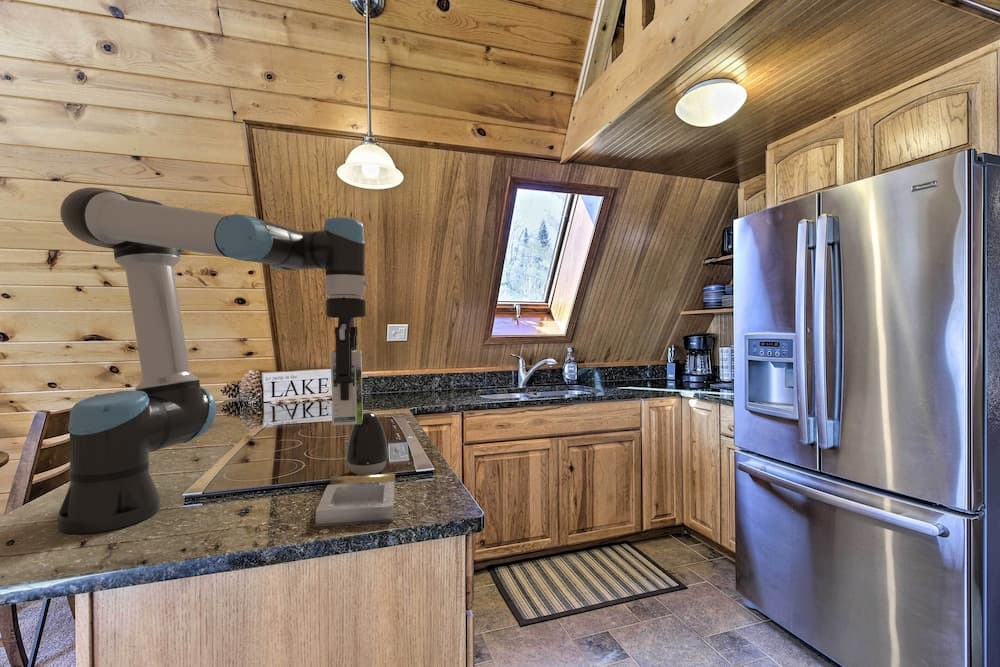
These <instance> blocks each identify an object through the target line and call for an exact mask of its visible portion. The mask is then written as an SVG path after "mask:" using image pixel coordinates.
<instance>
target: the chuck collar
mask: <svg viewBox="0 0 1000 667" xmlns="http://www.w3.org/2000/svg"><path fill="white" fill-rule="evenodd" d="M320 498H321V499H320V501H319V503H318V505H317V507H316V510H315V527H316V528H323V527H333V526H334V527H335V526H351V525H352V526H353V525H365V524H378V523H381V524H382V523H393V522H394V511H395V510H394V507H395V487H394V481H393V482H373V483H354V484H335V485H330V484H327V485H326V488H325V490H324V491H323V494H322V496H321V497H320Z"/></svg>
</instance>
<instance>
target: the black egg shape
mask: <svg viewBox="0 0 1000 667" xmlns="http://www.w3.org/2000/svg"><path fill="white" fill-rule="evenodd" d="M386 437H387V436H386V434H385V430H384V428H383V425H382V423H381V421H380V419H379V417H378V416H377V415H376V414H375V413H373V412H363V419H362V424H353V425H352V429H351V432H350V434H349V438H348V442H347V446H346V447H347V448H346V452H345V453H346V454H345V461H346V463H347V467H348V468H349V470H350V471H351V473H353V474H354V475H356V474H357V475H356V476H358V475H371V474H375V475H377V474H380V472H382V471H383V470H384V468H385V467H386V464H387V461H388V459H389V448H388V443H387V438H386ZM376 473H377V474H376Z"/></svg>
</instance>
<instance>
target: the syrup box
mask: <svg viewBox="0 0 1000 667" xmlns="http://www.w3.org/2000/svg"><path fill="white" fill-rule="evenodd" d="M362 355H363V354H362V350H361V349H356V350H352V373H351V379H352V381H351V383H353V417H338V384H334V383H333V380H336V379H335V378H336V350H331V353H330V374H331V375H330V377H331V378H330V379H331V425H332V427H336V426H351V425H352V426H354V424H362V419H363V414H364V412H363V410H364V407H363V366H362V365H363V364H362V362H363V361H362V359H363V358H362Z"/></svg>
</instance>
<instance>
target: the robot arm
mask: <svg viewBox="0 0 1000 667" xmlns="http://www.w3.org/2000/svg"><path fill="white" fill-rule="evenodd" d="M59 212H60V213H59V214H60V218H61V221H62V224H63V226H64V227H65V229H66V231H68V232H69V233H70V234H71V235H72V236H74V237H75V238H76V239H78V240H80V241H81V242H84V243H86V244H89V245H92V246H95V247H100V248H105V249H106V248H107V249H112V250H113V256H114V261H115V263H116V264H117V265H119V266H120V267H122V268H123V269H124V270H125V275H126V281H127V282H126V283H127V287H128V294H129V301H130V307H131V314H132V319H133V320H132V321H133V325H134V331H135V338H136V344H137V350H138V351H137V352H138V358H139V363H140V364H139V365H140V371H141V376H142V379H141V381H140V382H139V383H138V384H137V386H136V387H135V390H123V391H122V390H119V391H116V392H107V393H106V392H105V393H102V394H97V395H93V396H90V397H87V398H84V399H82V400H80V401H78V402H77V403H75V404H74V405H73V406H72V408H71V410H70V412H69V422H68V426H67V431H68V432H69V433H68V434H69V474H70V476H69V477H70V478H69V480H70V482H69V486H68V489H67V492H66V494H65V496H64V499H63V502H62V504H61V507H60V509H59V512H58V514H57V515H58V516H57V529H58V530H59V531H60V532H62V533H66V534H74V535H77V534H78V535H81V534H82V535H83V534H95V533H102V532H108V531H112V530H117V529H121V528H125V527H127V526H131V525H132V526H133V525H135V524H137V523H140V522H143V521H144V520H147V519H149V518H150V517H151V518H152V516H154V515H155V514H157V513H158V512H159V510H161V500H160V499H161V498H160V494H159V492H158V490H157V487H156V485H155V483H154V480H153V478H152V475H151V473H150V467H149V465H150V463H149V462H150V461H149V453H152V452H155V451H159V450H162V449H165V448H169V447H171V446H176V445H178V444H179V445H180V444H185V443H188V442H190V441H193V440H195V439H197V438H199V437H202V436H203V435H205V433H207V432H208V431H209V429H210V428H211V427H212V425H213V424H214V422H215V419H216V414H217V405H216V401H215V398H214V396H213V394H211V393H210V391H209V390H208V389H206V388H203V387H202V386H201V382H200V378H199V377H198V376H197V375H194V374H193V373H192V372H191V371H190V370H191V369H190V365H189V358H188V352H187V346H186V345H187V344H186V338H185V332H184V331H185V330H184V327H183V321H182V320H183V319H182V313H181V312H182V311H181V306H180V302H179V294H178V289H177V288H178V287H177V283H176V277H175V276H176V275H175V269H174V268H175V266H176V265H177V264H178V263H179V262H180V261H181V256H180V255H182V253H184V251H186V252H187V251H188V252H192V253H193V252H194V253H199V254H205V255H211V256H212V255H213V256H218V257H222V258H223V257H224V258H231V259H234V260H237V261H243V262H244V261H245V262H250V263H251V262H252V263H257V264H258V263H259V264H266V265H271V266H272V267H273V268H274V269H276V270H280V271H281V270H284V271H291V272H293V271H294V272H295V271H297V270H312V269H313V270H315V269H318V270H319V269H322V270H325V275H324V277H325V278H324V280H325V282H324V283H325V284H324V285H325V296H326V297H328V298H327V300H325V310H326V311H325V315H326V317H327V318H338V322H337V326H335V327H334V335H335V336H334V337H335V351H336V378H335V379H336V380H333V383H334V384H338V417H353V383H351V381H352V379H351V373H352V350H357V346H358V337H357V336H358V332H359V330H358V326H355V318H365V317H366V315H367V312H366V311H367V310H366V308H367V307H366V300H365V298H363V297H365V295H366V287H367V286H369V281H367V280H366V277H365V276H366V272H365V264H366V263H365V261H366V260H365V259H366V258H365V254H366V253H365V250H366V249H365V248H366V240H365V231H364V224H363V223H362V222H361V221H359V220H357V219H355V218H350V217H331V218H327V219H326V220H325V221H324V226H323V230H322V229H321V230H315V231H312V230H311V231H300V230H296V229H292V228H289V227H286V226H283V225H280V224H275V223H272V222H269V221H265V220H262V219H259V218H258V217H255V216H252V215H246V214H239V213H235V214H234V213H233V214H226V213H225V214H224V213H219V212H218V213H217V212H211V211H203V210H197V209H190V208H186V207H184V208H183V207H176V206H169V205H166V204H163V203H160V202H158V201H155V200H151V199H144V198H140V197H137V196H133V195H129V194H125V193H121V192H117V191H114V190H111V189H107V188H102V187H84V188H83V187H82V188H79V189H76V190H74V191H72V192H70V193H69V194H67V196H66V197H65V198H64V199H63V201H62V203H61V207H60V211H59Z"/></svg>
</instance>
